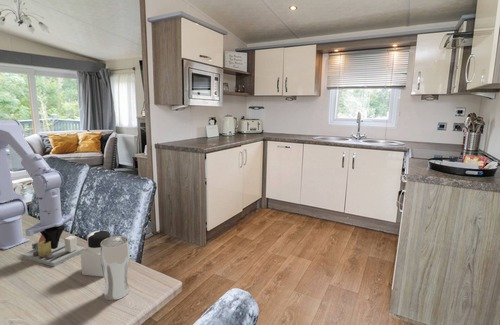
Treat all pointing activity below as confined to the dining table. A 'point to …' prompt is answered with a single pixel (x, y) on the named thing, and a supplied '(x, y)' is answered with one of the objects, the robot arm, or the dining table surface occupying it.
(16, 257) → the dining table surface
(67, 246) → the white slider
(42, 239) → the red paddle
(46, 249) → the brass slider
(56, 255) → the panel
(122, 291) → the beer glass
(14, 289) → the dining table surface
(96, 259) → the medicine bottle
